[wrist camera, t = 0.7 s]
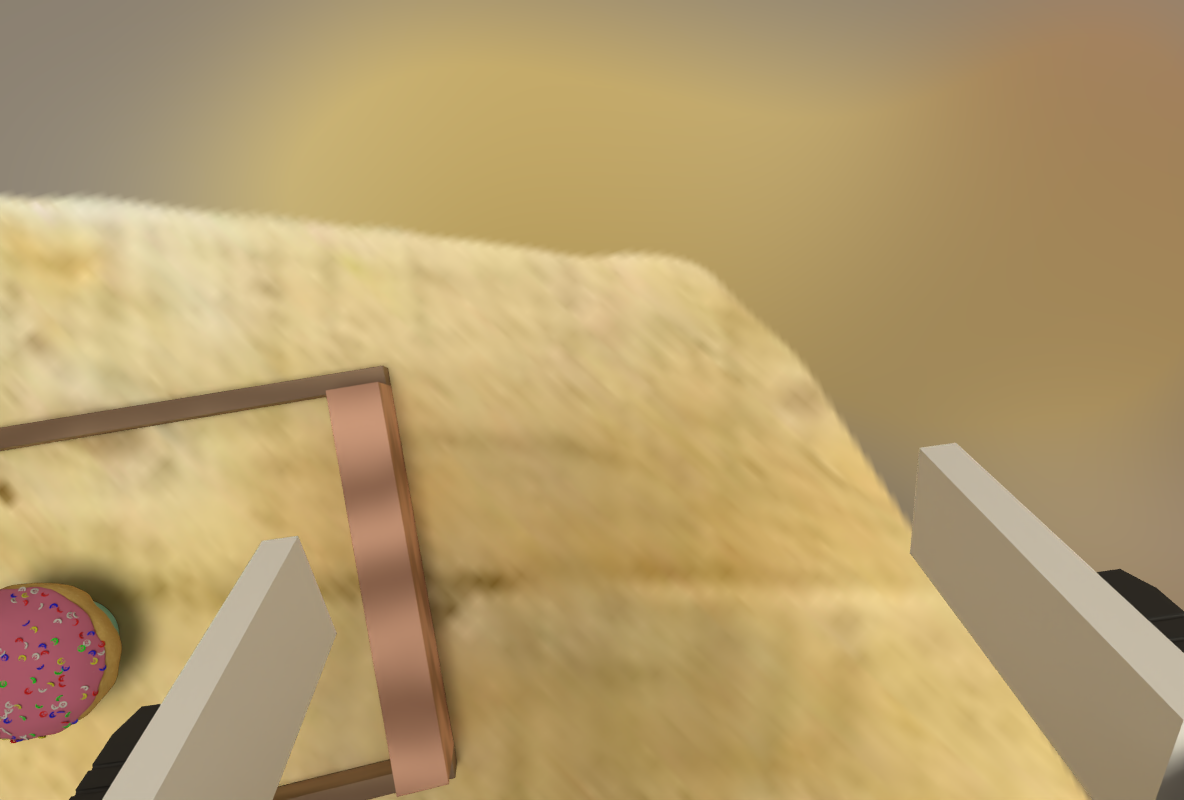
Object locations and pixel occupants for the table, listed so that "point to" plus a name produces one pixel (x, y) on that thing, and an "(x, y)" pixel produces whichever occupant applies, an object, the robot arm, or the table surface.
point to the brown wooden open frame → (379, 554)
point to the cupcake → (53, 658)
